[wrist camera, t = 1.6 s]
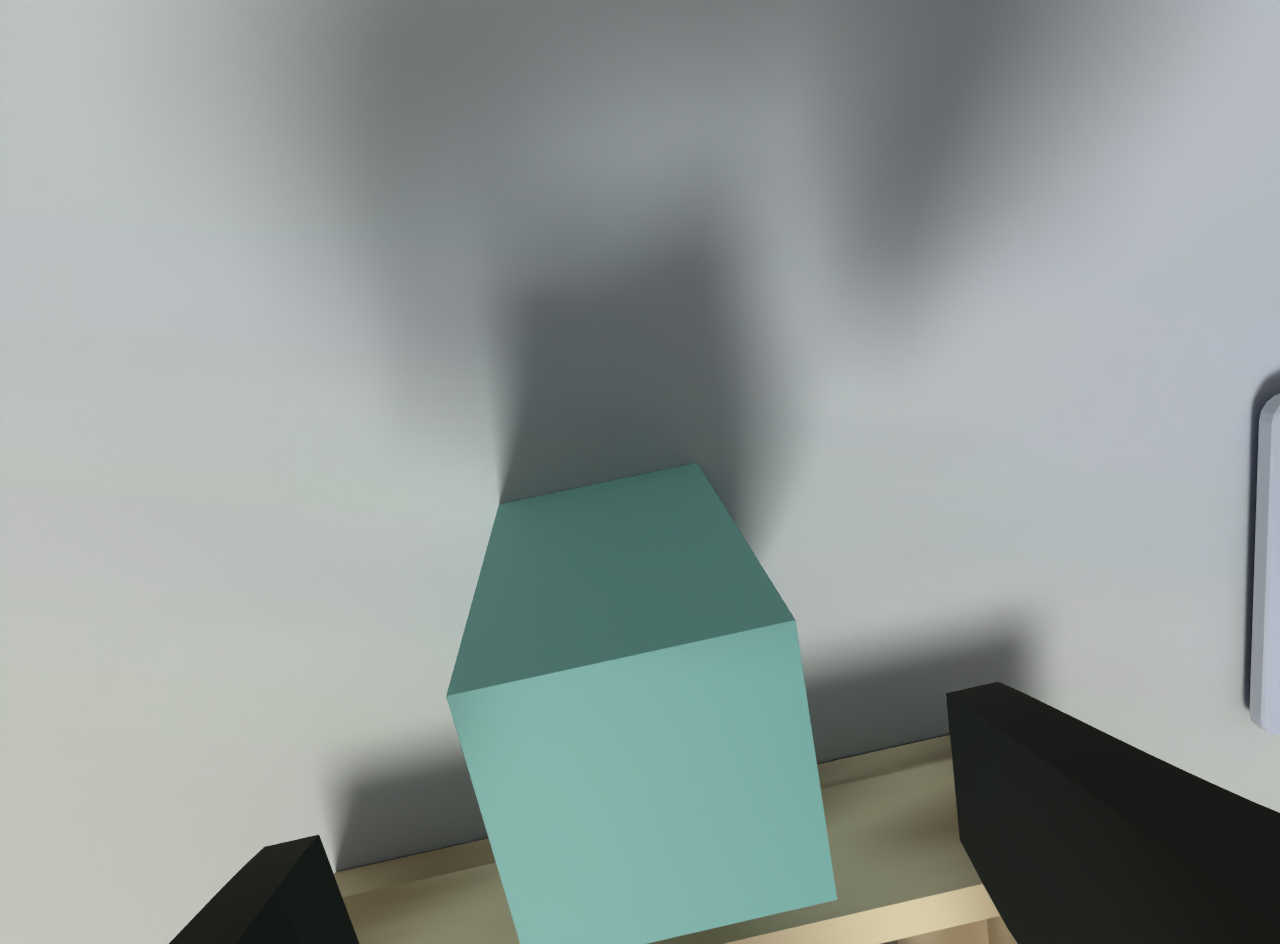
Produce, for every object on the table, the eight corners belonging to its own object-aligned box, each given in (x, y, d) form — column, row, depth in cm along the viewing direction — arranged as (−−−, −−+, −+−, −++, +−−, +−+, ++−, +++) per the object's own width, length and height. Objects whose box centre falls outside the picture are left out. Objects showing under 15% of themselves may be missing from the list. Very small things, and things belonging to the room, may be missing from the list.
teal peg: (697, 462, 16) (795, 620, 9) (728, 640, 17) (837, 899, 10) (499, 504, 15) (445, 696, 9) (544, 680, 17) (527, 971, 10)
